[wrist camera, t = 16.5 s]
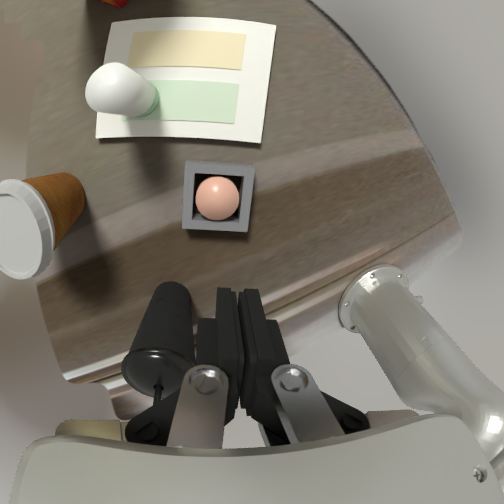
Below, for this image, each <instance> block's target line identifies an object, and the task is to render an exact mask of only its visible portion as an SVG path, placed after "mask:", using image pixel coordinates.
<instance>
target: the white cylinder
mask: <svg viewBox="0 0 504 504" xmlns="http://www.w3.org/2000/svg"><path fill="white" fill-rule="evenodd" d="M85 96H86V101H87V103H88V105H89V106H90V107H91V108H92V109H93V110H95V111H97V112H102V113H109V114H116V115H123V116H129V117H135V118H141V117H145V116H147V115H149V114H151V113H152V112H153V111H154V110H155V108H156V107H157V105H158V102H159V92H158V90H157V88H156V87H155V86H154V85H153V84H152V83H150V82H149V81H147V80H146V79H145V78H143V77H142V76H140V75H139V74H137V73H136V72H134V71H133V70H131V69H130V68H128V67H127V66H125V65H124V64H121V63H116V62H114V63H108V64H105V65H103V66H101V67H100V68H98V69H97V70H96V71H95V72H94V73H93V74H92V75H91V77H90V79H89V80H88V83H87V85H86V90H85Z"/></svg>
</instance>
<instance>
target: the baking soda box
mask: <svg viewBox="0 0 504 504" xmlns="http://www.w3.org/2000/svg"><path fill="white" fill-rule="evenodd" d="M99 1H102V2H105V3H108V4H110V5H113V6H116V7H118V8H121V9H122V7H123V6H124V5H125V4H126V3H127V2H128V1H129V0H99Z"/></svg>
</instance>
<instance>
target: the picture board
mask: <svg viewBox="0 0 504 504" xmlns="http://www.w3.org/2000/svg"><path fill="white" fill-rule="evenodd" d="M275 31H276V25H270V24H265V23H258V22H251V21H243V20H234V19H223V18H206V17H163V18H147V19H136V20H127V21H119V22H112V24H111V29H110V33H109V37H108V42H107V47H106V52H105V58H104V63H103V65H105V64H108V63H114V62H116V63H121V64H124V65H125V66H127V67H128V68H130V69H131V70H133V71H134V72H136V73H137V74H139V75H140V76H142V77H143V78H145V79H146V80H147V81H149V82H150V83H152V84H153V85H154V86H155V87H156V88H157V90H158V92H159V102H158V105H157V107H156V108H155V110H154V111H153V112H152V113H151V114H149V115H147V116H145V117H141V118H135V117H129V116H123V115H116V114H109V113H102V112H97V125H96V138H111V137H190V138H209V139H223V140H235V141H245V142H254V143H261V137H262V129H263V121H264V114H265V106H266V98H267V91H268V83H269V76H270V68H271V61H272V53H273V46H274V38H275Z"/></svg>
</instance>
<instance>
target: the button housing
mask: <svg viewBox="0 0 504 504" xmlns="http://www.w3.org/2000/svg"><path fill="white" fill-rule="evenodd" d="M196 173H204V174H220V175H233V176H241V185H240V194H239V204H238V212H237V216H235V215H231V216H229V217H228V218H225V219H222V220H212V219H209V218H207V217H205V216H203V215H202V214H201V213H193V208H194V191H195V176H196ZM254 174H255V167H254V166H253V165H252V164H241V163H229V162H216V161H200V160H187V161H186V162H185V175H184V192H183V216H182V229H202V230H220V231H238V232H247V231H248V223H249V215H250V206H251V198H252V190H253V182H254Z"/></svg>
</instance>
